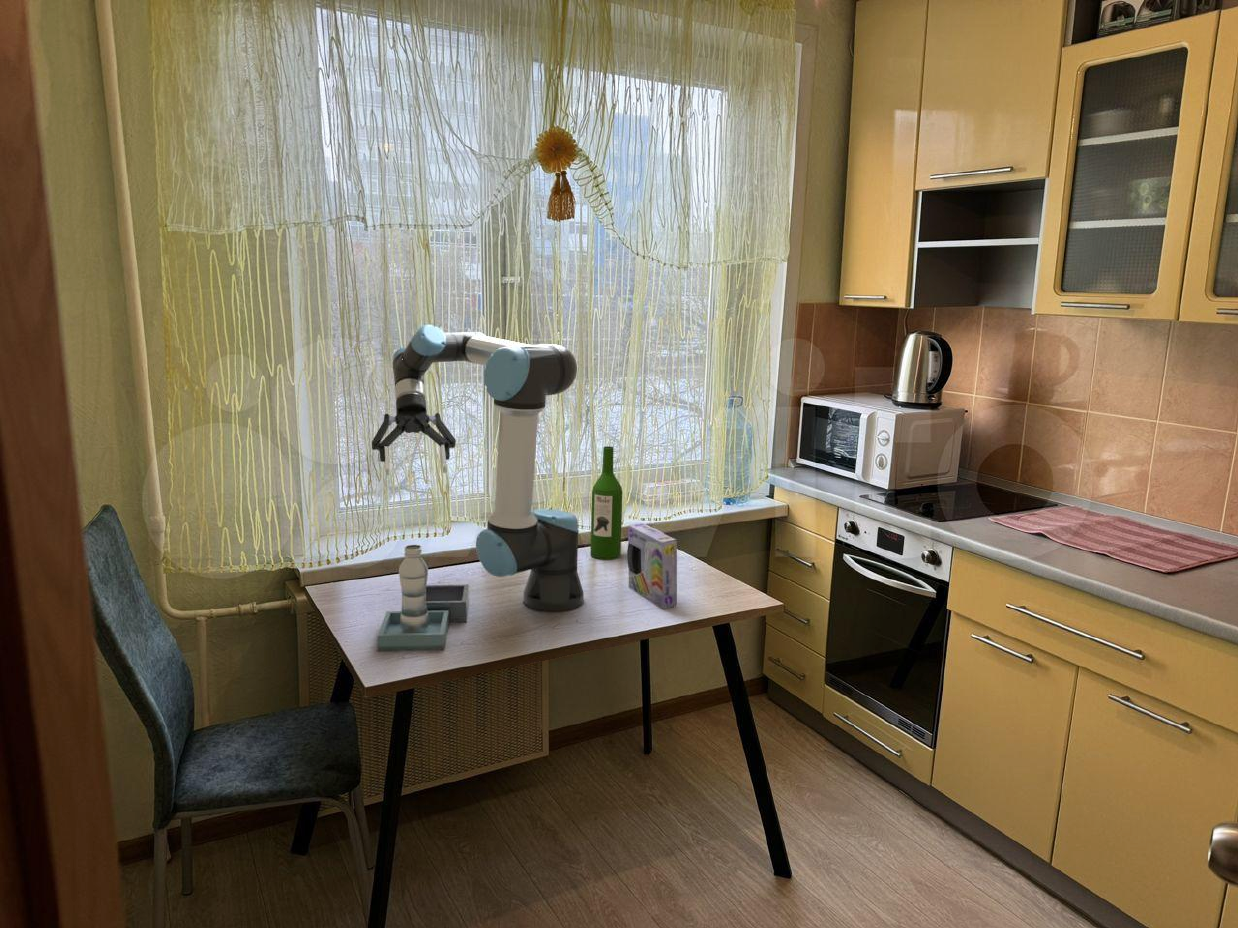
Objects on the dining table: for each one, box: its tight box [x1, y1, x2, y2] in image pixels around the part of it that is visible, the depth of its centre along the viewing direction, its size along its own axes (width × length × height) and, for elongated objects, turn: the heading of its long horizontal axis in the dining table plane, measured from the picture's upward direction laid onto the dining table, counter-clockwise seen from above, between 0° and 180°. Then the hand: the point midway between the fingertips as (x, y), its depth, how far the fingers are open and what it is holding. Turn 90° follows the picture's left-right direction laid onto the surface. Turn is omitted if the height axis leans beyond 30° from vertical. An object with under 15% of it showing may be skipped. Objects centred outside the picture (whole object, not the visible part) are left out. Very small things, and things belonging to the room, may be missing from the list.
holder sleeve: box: [426, 584, 470, 624], centre depth 207 cm, size 12×12×5 cm
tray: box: [377, 610, 450, 652], centre depth 193 cm, size 14×14×4 cm
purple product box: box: [626, 522, 678, 609], centre depth 221 cm, size 19×5×18 cm, turn 27°
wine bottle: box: [590, 445, 623, 561], centre depth 251 cm, size 9×9×32 cm
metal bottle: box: [398, 544, 429, 633], centre depth 191 cm, size 6×7×20 cm
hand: (416, 470), depth 210 cm, fingers open, 13 cm apart
